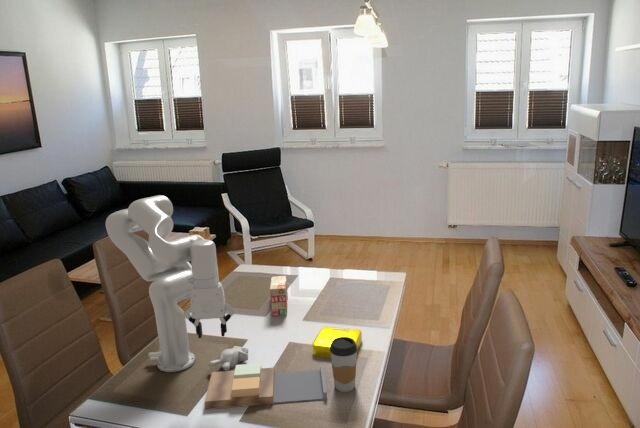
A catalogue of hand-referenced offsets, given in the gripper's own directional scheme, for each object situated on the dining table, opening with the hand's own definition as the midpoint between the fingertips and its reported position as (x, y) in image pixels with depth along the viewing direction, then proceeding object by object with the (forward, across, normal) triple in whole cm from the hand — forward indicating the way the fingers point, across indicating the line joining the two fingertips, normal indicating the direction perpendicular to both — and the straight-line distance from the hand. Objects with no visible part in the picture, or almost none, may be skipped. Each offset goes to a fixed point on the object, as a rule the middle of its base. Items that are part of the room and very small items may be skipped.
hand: (212, 334), depth 160 cm
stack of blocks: (+18, +19, +58) cm, 64 cm away
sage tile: (+15, +10, 0) cm, 18 cm away
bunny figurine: (+18, +3, +13) cm, 22 cm away
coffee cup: (+18, +40, -6) cm, 44 cm away
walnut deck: (+18, +8, -4) cm, 20 cm away
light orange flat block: (+15, +10, -8) cm, 20 cm away
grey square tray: (+18, +26, -4) cm, 32 cm away
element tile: (+18, +40, +19) cm, 48 cm away
